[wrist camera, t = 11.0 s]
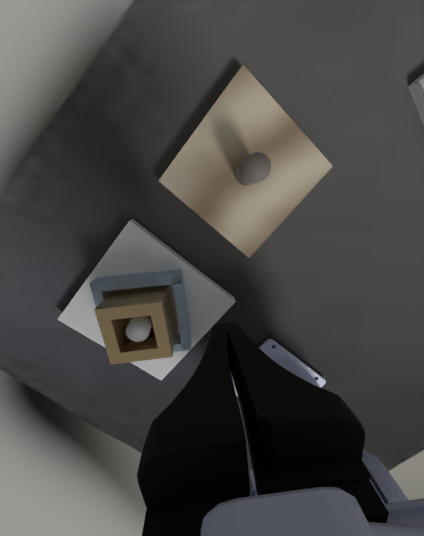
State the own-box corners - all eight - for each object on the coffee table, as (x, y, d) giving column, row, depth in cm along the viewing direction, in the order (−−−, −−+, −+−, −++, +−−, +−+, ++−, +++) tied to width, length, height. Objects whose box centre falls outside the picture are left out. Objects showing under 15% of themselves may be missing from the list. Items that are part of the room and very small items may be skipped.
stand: (326, 167, 18) (363, 158, 14) (246, 255, 20) (259, 270, 16) (240, 72, 16) (255, 26, 12) (160, 181, 18) (148, 176, 14)
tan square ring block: (169, 282, 20) (161, 301, 16) (177, 328, 21) (172, 357, 18) (114, 288, 20) (93, 309, 16) (126, 334, 21) (110, 364, 17)
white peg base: (234, 297, 22) (242, 321, 17) (162, 373, 24) (154, 410, 20) (133, 219, 19) (113, 225, 15) (63, 314, 21) (29, 343, 17)
